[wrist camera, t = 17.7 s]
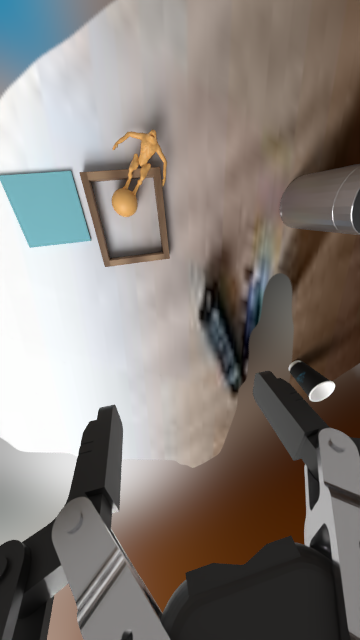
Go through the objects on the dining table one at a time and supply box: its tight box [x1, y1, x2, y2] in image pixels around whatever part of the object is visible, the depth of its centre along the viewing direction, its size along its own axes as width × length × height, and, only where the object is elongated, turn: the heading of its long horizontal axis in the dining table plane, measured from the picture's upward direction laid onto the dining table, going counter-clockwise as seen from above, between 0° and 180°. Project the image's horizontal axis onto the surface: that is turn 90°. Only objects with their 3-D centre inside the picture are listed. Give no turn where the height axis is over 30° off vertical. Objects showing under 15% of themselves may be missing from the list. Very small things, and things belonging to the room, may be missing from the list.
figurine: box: [112, 130, 167, 217], centre depth 30 cm, size 8×6×12 cm
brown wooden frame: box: [79, 167, 170, 267], centre depth 34 cm, size 12×14×2 cm
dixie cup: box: [289, 360, 335, 402], centre depth 60 cm, size 8×8×11 cm
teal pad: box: [0, 171, 91, 248], centre depth 32 cm, size 10×10×1 cm
